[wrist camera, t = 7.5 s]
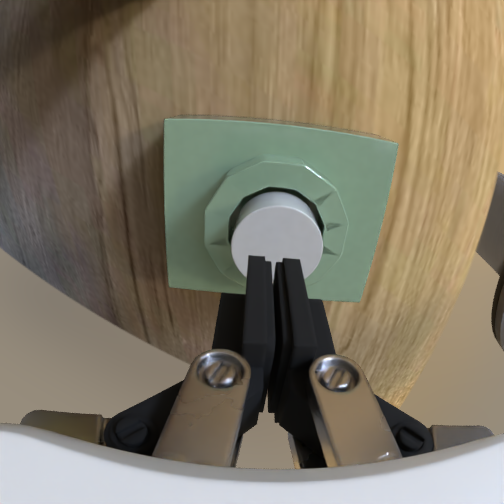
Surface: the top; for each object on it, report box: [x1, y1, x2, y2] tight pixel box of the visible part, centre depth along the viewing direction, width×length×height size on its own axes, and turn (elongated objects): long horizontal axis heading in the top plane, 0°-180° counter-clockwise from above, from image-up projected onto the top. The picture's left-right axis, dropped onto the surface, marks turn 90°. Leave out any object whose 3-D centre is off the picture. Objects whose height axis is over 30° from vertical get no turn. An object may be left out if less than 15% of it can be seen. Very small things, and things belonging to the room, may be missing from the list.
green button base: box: [164, 115, 398, 302], centre depth 17 cm, size 12×10×5 cm
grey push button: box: [231, 191, 323, 280], centre depth 14 cm, size 4×4×2 cm
